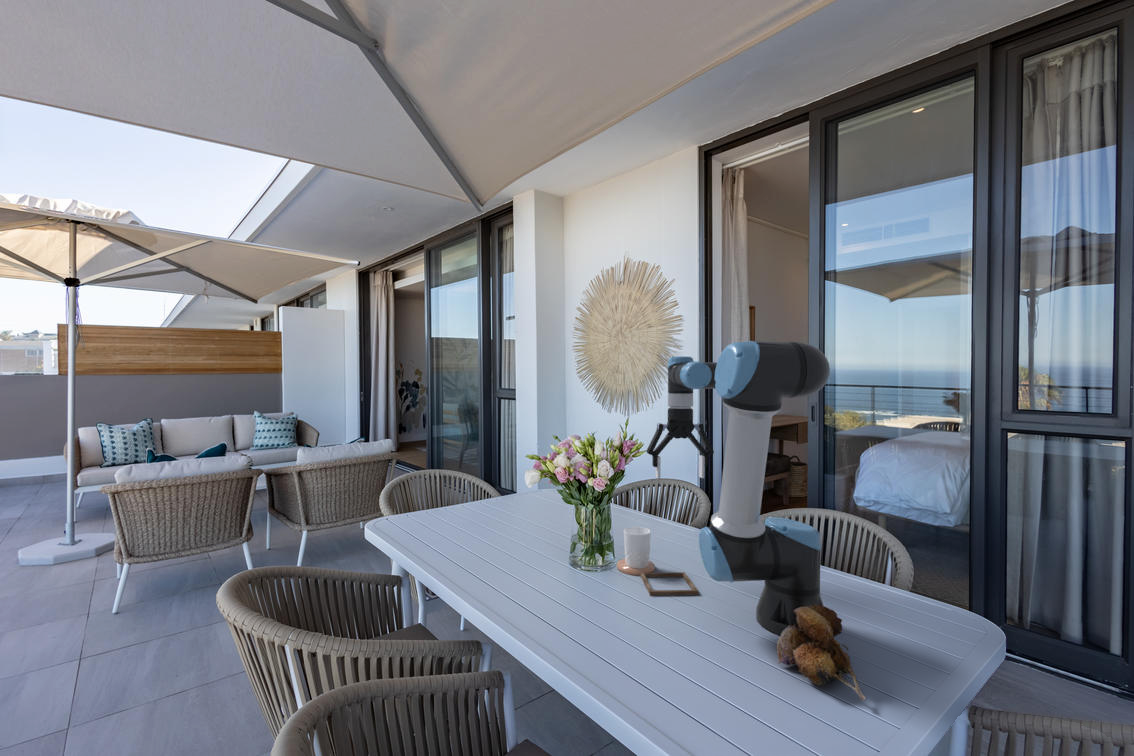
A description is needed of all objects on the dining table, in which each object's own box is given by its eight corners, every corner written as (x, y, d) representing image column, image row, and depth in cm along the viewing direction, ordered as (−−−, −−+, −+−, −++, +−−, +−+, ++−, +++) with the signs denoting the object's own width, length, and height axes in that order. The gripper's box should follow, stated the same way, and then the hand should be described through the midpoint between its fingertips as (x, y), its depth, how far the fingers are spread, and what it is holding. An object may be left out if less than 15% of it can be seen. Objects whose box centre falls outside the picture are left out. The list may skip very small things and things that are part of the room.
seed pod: (873, 628, 101) (795, 590, 108) (884, 649, 87) (794, 603, 94) (849, 691, 101) (772, 648, 108) (857, 722, 87) (768, 671, 93)
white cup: (649, 560, 153) (649, 527, 153) (651, 570, 146) (651, 535, 145) (623, 559, 154) (623, 526, 154) (623, 569, 146) (623, 534, 146)
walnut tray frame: (698, 594, 132) (698, 591, 132) (650, 595, 131) (650, 591, 131) (684, 575, 144) (684, 572, 144) (640, 576, 144) (640, 572, 144)
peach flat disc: (658, 575, 145) (658, 571, 145) (620, 575, 144) (620, 572, 144) (650, 561, 156) (650, 557, 156) (614, 561, 155) (614, 558, 155)
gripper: (715, 406, 160) (715, 474, 160) (637, 406, 157) (636, 475, 157) (725, 408, 152) (724, 479, 152) (642, 408, 150) (642, 480, 150)
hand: (679, 477), depth 155 cm, fingers open, 13 cm apart
